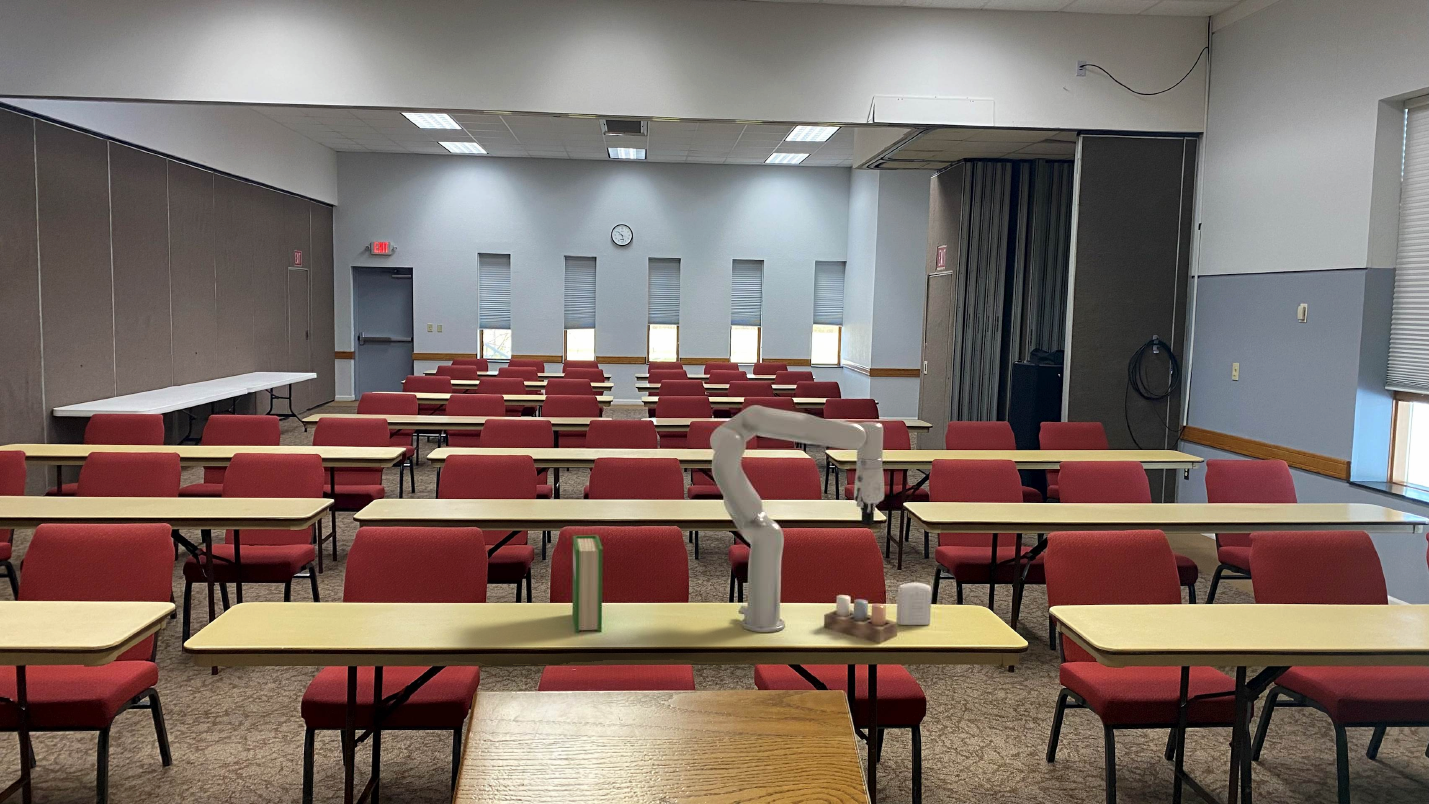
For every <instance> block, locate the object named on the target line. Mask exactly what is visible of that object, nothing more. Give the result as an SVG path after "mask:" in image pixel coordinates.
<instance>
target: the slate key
mask: <svg viewBox="0 0 1429 804" xmlns="http://www.w3.org/2000/svg"><path fill="white" fill-rule="evenodd" d="M853 611H854V617H853V620H857V621H860V622H865V621H867V619H868V615H869V601H868V600H866V599H861V598H859V599H858V598H857V599H854V601H853Z"/></svg>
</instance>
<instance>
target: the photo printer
mask: <svg viewBox="0 0 1429 804" xmlns="http://www.w3.org/2000/svg"><path fill="white" fill-rule="evenodd" d="M896 599H897V601H896V619H895V622H897V625H899V626H917V625H918V626H923V625H924V626H925V625H927V626H928V625H929V626H930V624H931V611H932V610H931V608H932V587H931V586H930V585H929V584H926V583H921V582H907V583H903V584H901V585H899V586H898V588H897V598H896Z"/></svg>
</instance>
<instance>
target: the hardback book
mask: <svg viewBox="0 0 1429 804" xmlns="http://www.w3.org/2000/svg"><path fill="white" fill-rule="evenodd" d="M572 541H573V542H572V612H571V613H572V619H573V620H572V621H573V628H574V633H575V634H579V633H580V631H589V630H590V631H591V630H592V631H594V630H597V633H602V631H603V627H602V626H603V625H602V624H603V622H602V621H603V555H604V553H603V549H604V548H603V546H602V542H601V540H600V536H599V535H598V534H597V535H596V534H593V535H592V534H590V535H588V534H587V535H573V536H572Z"/></svg>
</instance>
